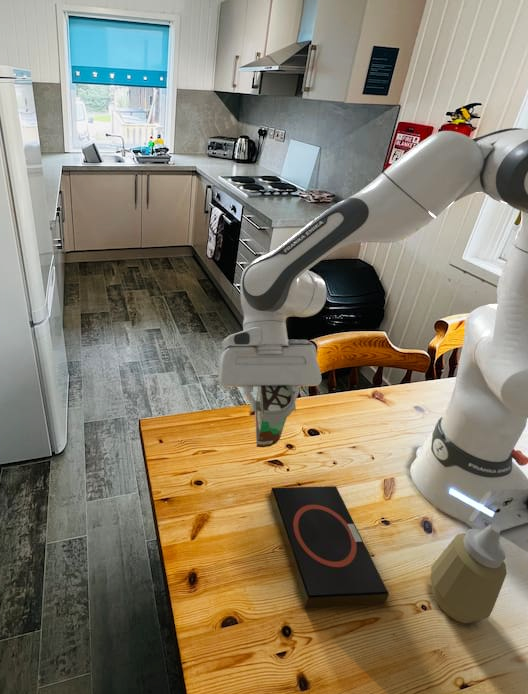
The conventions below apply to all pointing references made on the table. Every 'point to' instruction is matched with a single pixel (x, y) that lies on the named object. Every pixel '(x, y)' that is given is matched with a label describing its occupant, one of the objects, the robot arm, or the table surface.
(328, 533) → the hob
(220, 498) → the table surface
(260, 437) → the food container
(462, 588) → the squeeze bottle
